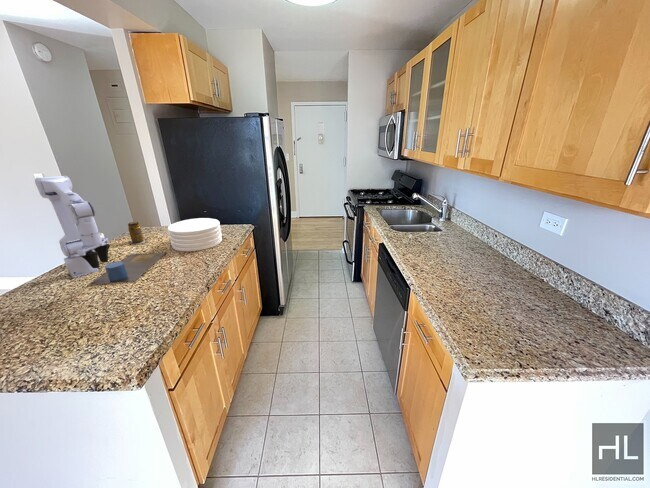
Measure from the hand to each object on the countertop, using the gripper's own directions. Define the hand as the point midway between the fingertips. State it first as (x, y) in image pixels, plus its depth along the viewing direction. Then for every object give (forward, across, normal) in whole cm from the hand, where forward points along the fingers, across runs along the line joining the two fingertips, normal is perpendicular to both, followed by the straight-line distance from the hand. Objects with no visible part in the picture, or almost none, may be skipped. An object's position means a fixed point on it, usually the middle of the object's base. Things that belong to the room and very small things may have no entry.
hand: (100, 264), depth 106 cm
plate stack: (+11, +50, -21) cm, 55 cm away
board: (+10, +19, 0) cm, 21 cm away
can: (+10, +8, 0) cm, 13 cm away
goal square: (+10, +29, 0) cm, 31 cm away
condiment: (+11, +56, +16) cm, 59 cm away
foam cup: (+11, +31, +22) cm, 39 cm away
